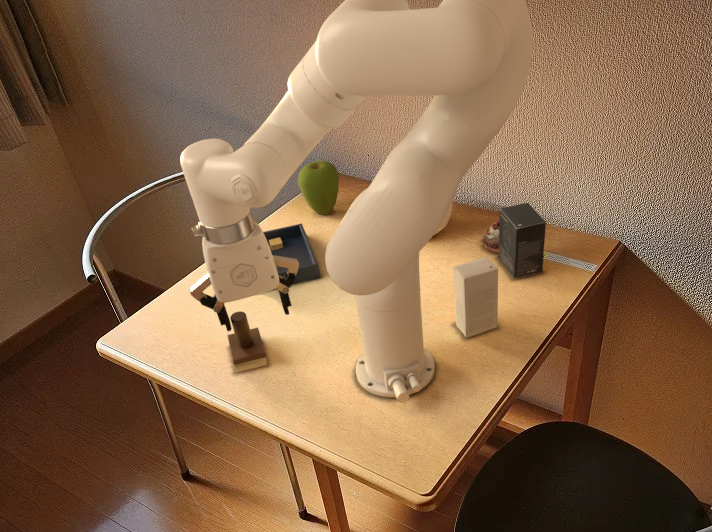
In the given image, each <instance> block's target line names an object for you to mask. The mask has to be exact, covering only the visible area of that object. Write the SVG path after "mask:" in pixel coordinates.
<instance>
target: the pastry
mask: <svg viewBox="0 0 712 532" xmlns="http://www.w3.org/2000/svg"><path fill="white" fill-rule="evenodd" d="M499 221H500V218H496V219H495V221H494V222H493V224H491V225H490V226H489V227H487V230H486V233H485V234H484V236H483V238H482V243H483V246H484V247H485V249H486V250H488V251H489V252H491V253H495V254H499Z"/></svg>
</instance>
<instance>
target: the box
mask: <svg viewBox="0 0 712 532" xmlns="http://www.w3.org/2000/svg"><path fill="white" fill-rule="evenodd" d="M499 219H500V221H499V253H498V259H499V260H500V262H501V263H502V264H503V266H504V267H505V268H506V270H507V271H508V272H509V273H510V275H511V276H512V278H513V279H520V278H524V277H525V278H526V277H529V276H532V275H533V276H534V275H537V274H541V273H542V272H543V265H544V254H545V243H546V242H545V241H546V227H547V222H546V221H545V219H544V218H543V217H542V216H541V215H540V214H539V213H538V212H537V211H536V209H535V208H534V207H533V206H531V204H530V203H529V202H525V203H523V202H522V203H518V204H515V205H510V206H505V207H501V208H499Z"/></svg>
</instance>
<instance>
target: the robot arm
mask: <svg viewBox="0 0 712 532" xmlns="http://www.w3.org/2000/svg"><path fill="white" fill-rule="evenodd" d="M533 44H534V34H533V26H532V20H531V17H530V13H529V9H528V6H527V4H526V1H525V0H442V1H441V2H440V4H439V5H438V6H437V7H427V8H413V9H411V7H410V5H409V3H408V2H407V0H344V1H343V2H342V3H340V5H338V7H337V8H335V10H333V12H332V13H330V14H329V16H327V18H326V19H325V20H324V22H323V23H322V25H321V27H320V28H319V30H318V34H317V37H316V39H315V41H314V43H313V44H312V45H311V47H310V48H309V50H307V52H306V53H305V54H304V55H303V57H302V58H301V59H300V61H299V62H298V64H297V65H296V66H295V67H294V69H293V70H292V71H291V72H290V75H289V76H288V79H287V91H286V93H285V94H284V95H283V97H282V99H281V100H280V101H279V102H278V103H277V105H276V107H274V109H273V110H272V112H271V113H270V114H269V116H267V118H266V119H265V120H264V122H263V123H262V124H261V126H260V127H259V128H258V129H257V130H256V131H255V132H254V133H253V134H252V135H251V136H250V137H249V138H248V139H247V140H246V142H244V144H243V145H242V146H241V147H240V148H238V149H236V150H235V151H234V148H233V147H232V145H231V143H229V142H227V141H226V140H224V139H221V138H206V139H201V140H199V141H196V142H194V143H191V144H190V145H188V146H186V148H184V149H183V151H182V152H181V154H180V157H179V161H180V162H179V163H180V166H181V171H182V173H183V176H184V179H185V182H186V186H187V188H188V191H189V194H190V196H191V197H190V198H191V199H192V203H193V205H194V208H195V212H196V215H197V217H198V220H199V221H198V224H196V226H193V227H191V230H192V234H193V237H197V236H199V237H202V242H201V243H202V253H203V258H204V263H205V267H206V270H207V273H206V274H205V275H203V277H201V278H200V279H199V280H198V281H197V282H195V284H193V285H192V286H191V287H190V288H189V293H190V296H191V297H192V298H194V299H195V300H196V301H197V302H199V303H200V304H201V306H203V307H206V308H209V309H211V310H213V312H214V313H216V315H217V319H218V320H219V323H220V326H225V328H226V331H227V332H231V331H232V330H233V327H232V323H231V319H230V317H229V314H228V311H227V309H226V305H225V304H226V303H232V302H236V301H239V300H243V299H247V298H250V297H251V298H252V297H254V296H258V295H261V294H264V293H268V292H270V291H273V290H277V292H278V295H279V299H280V302H281V306H282V309H283V313H284V315H286V316H288V315H290V310H289V308H290V307H292V301H291V298H290V294H289V293H290V288H291V286H292V285H294V284H293V282H294V281H295V279H296V274H297V271H298V268H299V263H298V260H297V259H294V258H288V257H281V256H275V255H272V253H271V250H270V247H269V244H268V242H267V239H266V237H265V235H264V233H263V232H264V231H263V229H262V228H261V226H260V224H259V223H258V222H256V221H254V217H253V214H252V210H251V209H258V208H263V207H265V206H268V205H269V204H270V203H272V201H274V200H275V198H276V197H277V195H278V194H279V193H280V192H281V190H282V189H283V188H284V186H285V185H286V183H287V182H288V181H289V180H290V178H291V177H292V176H293V174H294V173H296V171H297V170H298V168H299V167H300V166H301V165H302V164H303V162H304V161H305V160H306V158H307V157H308V156H309V155H310V154H311V153H312V151H313V150H314V149H315V148H316V147H317V145H319V143H320V142H321V141H322V140H323V139H324V138H325V136H327V134H328V133H329V132H330V131H331V130H332V129H338V128H340V127H341V126H342V125H343V124H344V123H345V122H346V121H347V120H348V119H349V118H350V116H351V115H352V114H353V113H354V112H355V111H356V110H357V109H358V107H359V106H360V105H361V103H362V102H364V100H366V98H367V97H381V98H383V97H426V96H433V98H432V100H431V101H430V102H429V105H427V107H426V109H425V110H424V111H423V113H422V114H421V115H420V117H419V118H418V120H417V121H416V122H415V123H414V125H413V126H412V127H411V129H410V130H409V131H408V132H407V133H406V134H405V136H404V137H403V138H402V139H401V140H400V141H399V142H398V143H397V144H396V146H395V147H394V148H393V149H392V150H391V151H390V153H389V155H388V156H387V157H386V158H385V160H384V162H383V163H382V165H381V167H380V169H379V170H378V172H377V173H376V175H375V177H374V178H373V180H372V181H371V183H370V184H369V186H368V187H367V188H365V189H363V191H361V192H360V193H359V194H358V195H357V196H356V197H355V199H354V200H353V202H352V203H351V205H350V206H349V207H348V209H347V211H346V212H345V214H344V215H343V216H342V219H341V221H340V223H339V225H338V226H337V228H336V229H335V230H334V232H333V234H332V236H331V237H330V239H329V241H328V243H327V246H326V248H325V255H324V261H325V268H326V270H327V273H328V276H329V277H330V279H331V281H332V282H333V284H335V285H336V286H337V287H338V288H339V289H340V290H342V291H344V292H345V293H348V294H350V295H354V296H355V302H356V311H357V318H358V324H359V325H358V327H359V332H360V339H361V347H362V354H361V356H360V357H359V359H358V360H357V362H356V367H355V375H356V379H357V381H358V383H359V385H360V386H361V387H362V388H363V389H364V390H366V391H367V392H368V393H371V394H373V395H376V396H378V397H383V398H396V400H397V402H399V403H402V404H403V403H406V402H407V401H408V400H409V399H410V395H413V394H415V393H418V392H420V391H421V390H423V389H424V388H425V387H427V385H428V384H430V383H431V381H432V380H433V378H434V375H435V370H436V365H435V360H434V357H433V355H432V354H431V353H430V352H429V351H428V350H427V349H426V348H425V347H424V346H425V345H424V332H423V331H424V329H423V315H422V300H421V299H422V298H421V281H420V279H421V277H420V252H421V251H422V250H423V249H424V248H425V246H426V245H427V244H428V243H429V242H430V240H432V238H433V236H435V235H434V234H435V232H436V231H437V229H438V228H439V226H440V225H441V223H442V221H443V219H444V217H445V215H446V213H447V211H448V209H449V207H450V204H451V202H452V203H453V200H454V198H455V195H456V194H457V190H458V189H459V186H460V184H461V182H462V180H463V178H464V176H465V175H466V174H467V173H468V172H469V170H470V169H471V168H472V166H473V165H474V164H475V163H476V162H477V160H478V159H479V158H480V157H481V155H483V153H484V152H485V150H486V149H487V148H488V147H489V145H490V143H491V142H492V141H493V140H494V138H495V137H496V136H497V135H498V133H499V132H500V130H501V129H502V128H503V127H504V125H506V122H507V121H508V120H509V118H510V116H511V114H512V113H513V111H514V110H515V108H516V106H517V105H518V103H519V100H520V98H521V96H522V94H523V91H524V89H525V86H526V85H527V84H526V83H527V81H528V78H529V73H530V70H531V64H532V59H533V51H534V50H533V49H534V48H533V46H534V45H533ZM276 266H278V267H284V268H288V271H287V272H286V274H285V275H284V277H281V276H279V275H278V272H277V268H276ZM210 286H211V287H212V290H213V293H214V294H213V296H212V295H209V294H206V293H204V291H205V290H206V289H208V288H209V287H210Z"/></svg>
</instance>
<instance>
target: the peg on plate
mask: <svg viewBox="0 0 712 532" xmlns="http://www.w3.org/2000/svg"><path fill="white" fill-rule="evenodd" d="M229 319H230V323H231V327H232V330H233V333H230V334H227V335H226V336H227V342H228V345H229V351H230V354H231V360H232V363H233V366H234V368H235V371H236V373H243V372H245V371H249V370H253V369H258V368H261V367H265V366H268V361H267V354H266V351H265V347H264V343H263V340H262V336H261V333H260V330H259V327H253V328H250V324H249V320H248V316H247V314H246V312H245V311H241V310H239V311H235V312H233V313H232V314H230V317H229Z"/></svg>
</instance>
